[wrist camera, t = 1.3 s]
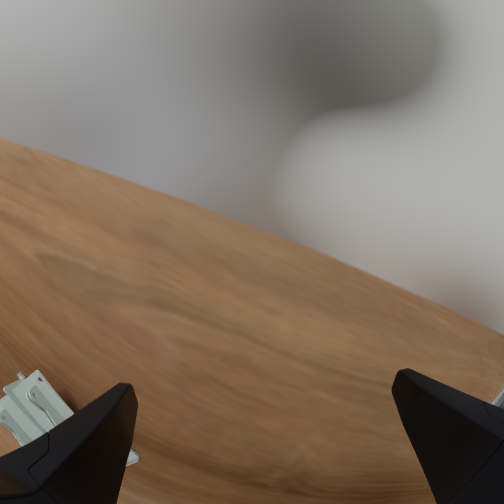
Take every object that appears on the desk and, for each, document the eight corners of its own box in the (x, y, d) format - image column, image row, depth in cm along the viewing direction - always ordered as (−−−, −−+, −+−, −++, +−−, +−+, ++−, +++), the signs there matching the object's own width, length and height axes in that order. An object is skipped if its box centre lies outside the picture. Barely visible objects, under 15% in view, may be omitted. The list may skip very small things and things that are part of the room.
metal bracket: (-25, 412, 13) (33, 359, 16) (-3, 392, 19) (60, 339, 21) (64, 502, 15) (147, 475, 18) (74, 475, 21) (151, 441, 23)
